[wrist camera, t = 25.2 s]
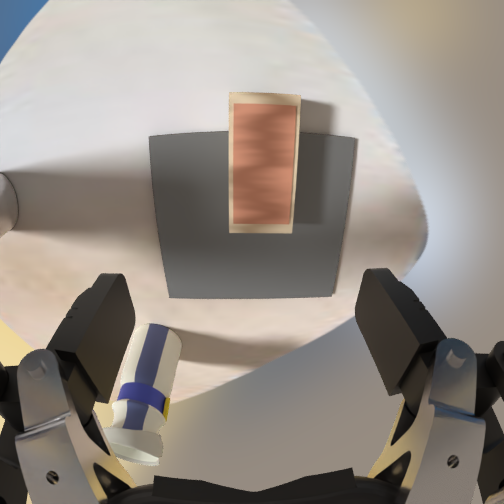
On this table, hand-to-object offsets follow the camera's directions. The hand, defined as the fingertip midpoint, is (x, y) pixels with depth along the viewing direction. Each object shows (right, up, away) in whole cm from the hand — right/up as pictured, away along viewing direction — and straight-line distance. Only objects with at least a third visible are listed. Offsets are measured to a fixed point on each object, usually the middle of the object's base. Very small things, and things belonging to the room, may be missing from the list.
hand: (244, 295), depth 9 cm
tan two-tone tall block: (+1, +4, +19) cm, 20 cm away
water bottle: (-14, -12, +31) cm, 36 cm away
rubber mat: (0, +5, +22) cm, 22 cm away
